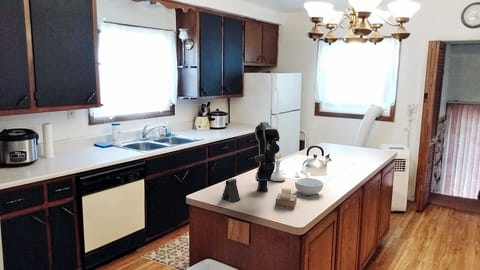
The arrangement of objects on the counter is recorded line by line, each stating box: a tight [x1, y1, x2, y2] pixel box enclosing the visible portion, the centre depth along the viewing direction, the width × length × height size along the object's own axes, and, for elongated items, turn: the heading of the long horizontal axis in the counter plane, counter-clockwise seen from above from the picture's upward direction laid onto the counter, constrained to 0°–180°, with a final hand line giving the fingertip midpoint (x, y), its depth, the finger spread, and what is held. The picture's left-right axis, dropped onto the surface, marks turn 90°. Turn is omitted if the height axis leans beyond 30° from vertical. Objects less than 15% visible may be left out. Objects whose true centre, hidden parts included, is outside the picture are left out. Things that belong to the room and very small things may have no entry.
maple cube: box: [281, 185, 292, 199], centre depth 205 cm, size 5×5×5 cm
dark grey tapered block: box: [221, 178, 241, 204], centre depth 211 cm, size 9×6×12 cm, turn 50°
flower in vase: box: [271, 154, 286, 182], centre depth 251 cm, size 13×11×25 cm
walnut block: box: [274, 192, 298, 210], centre depth 205 cm, size 10×10×5 cm
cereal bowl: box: [294, 177, 324, 196], centre depth 227 cm, size 17×17×7 cm
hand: (269, 177), depth 212 cm, fingers open, 9 cm apart
